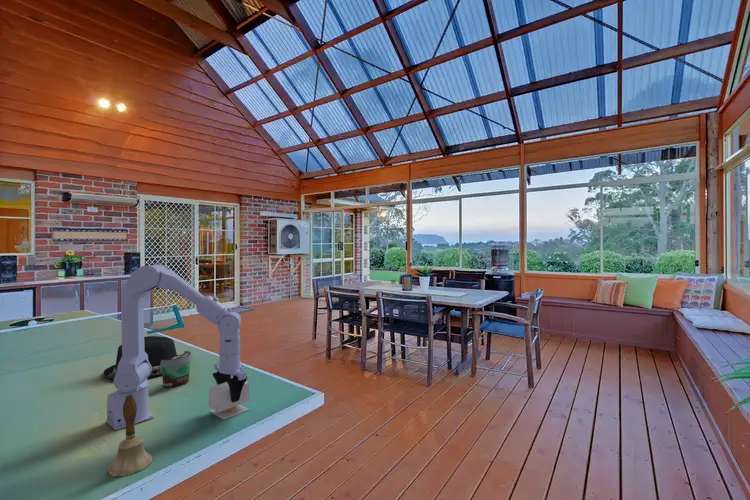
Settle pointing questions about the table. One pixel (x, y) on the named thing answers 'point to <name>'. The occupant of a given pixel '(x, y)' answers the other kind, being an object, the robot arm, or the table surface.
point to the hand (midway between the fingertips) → (229, 398)
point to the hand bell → (130, 445)
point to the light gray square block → (226, 414)
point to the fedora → (150, 354)
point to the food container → (176, 370)
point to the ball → (230, 409)
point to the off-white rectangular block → (226, 397)
